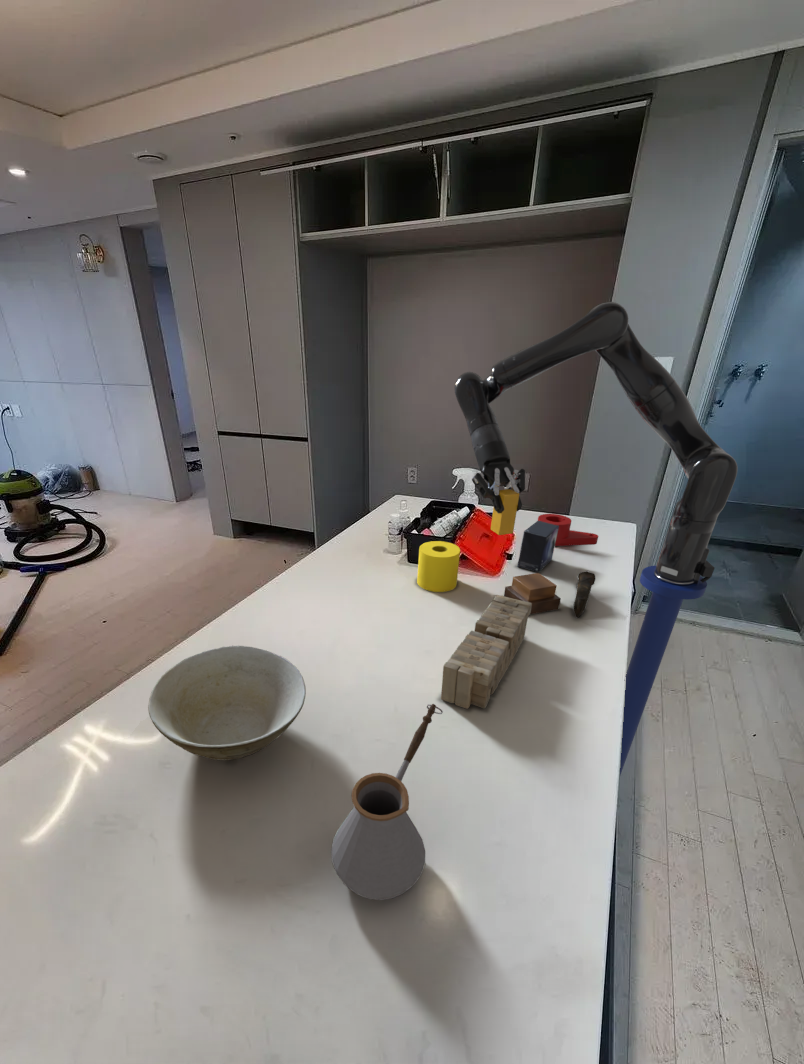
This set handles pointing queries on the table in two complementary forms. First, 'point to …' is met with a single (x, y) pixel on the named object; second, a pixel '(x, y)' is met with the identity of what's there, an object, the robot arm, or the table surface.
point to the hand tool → (583, 591)
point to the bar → (505, 513)
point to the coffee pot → (381, 833)
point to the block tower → (485, 653)
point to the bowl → (227, 701)
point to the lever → (568, 531)
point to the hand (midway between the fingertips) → (509, 510)
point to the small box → (537, 546)
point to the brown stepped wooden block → (534, 592)
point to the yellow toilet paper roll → (438, 566)
